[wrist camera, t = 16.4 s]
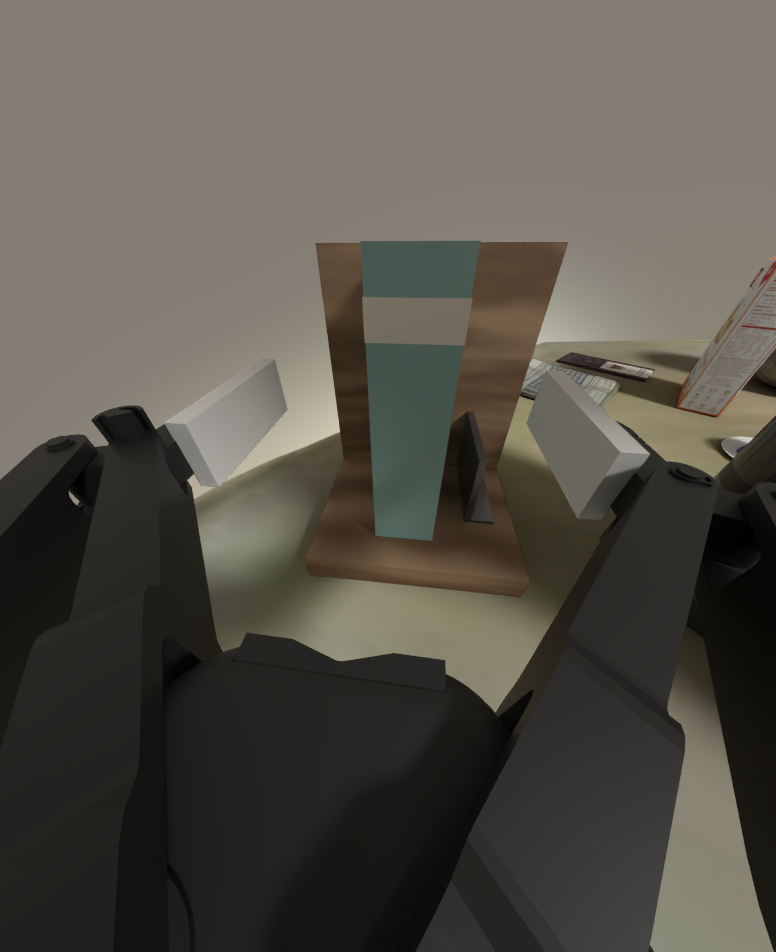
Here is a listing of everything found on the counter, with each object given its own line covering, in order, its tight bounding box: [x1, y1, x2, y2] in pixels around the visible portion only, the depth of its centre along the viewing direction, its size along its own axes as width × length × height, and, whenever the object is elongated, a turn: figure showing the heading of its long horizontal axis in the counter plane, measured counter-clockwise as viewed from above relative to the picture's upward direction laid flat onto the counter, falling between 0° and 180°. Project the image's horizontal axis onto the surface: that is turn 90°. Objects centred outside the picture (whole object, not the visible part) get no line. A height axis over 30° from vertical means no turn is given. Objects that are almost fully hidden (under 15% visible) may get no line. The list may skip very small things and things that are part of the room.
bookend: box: [457, 411, 494, 524], centre depth 27 cm, size 9×3×7 cm, turn 174°
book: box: [361, 241, 480, 541], centre depth 22 cm, size 5×10×20 cm, turn 174°
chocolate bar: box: [557, 352, 655, 382], centre depth 66 cm, size 9×1×18 cm
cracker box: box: [677, 257, 776, 417], centre depth 45 cm, size 14×6×21 cm, turn 137°
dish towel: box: [520, 359, 621, 407], centre depth 55 cm, size 19×18×3 cm
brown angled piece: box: [304, 242, 568, 597], centre depth 23 cm, size 18×18×22 cm
